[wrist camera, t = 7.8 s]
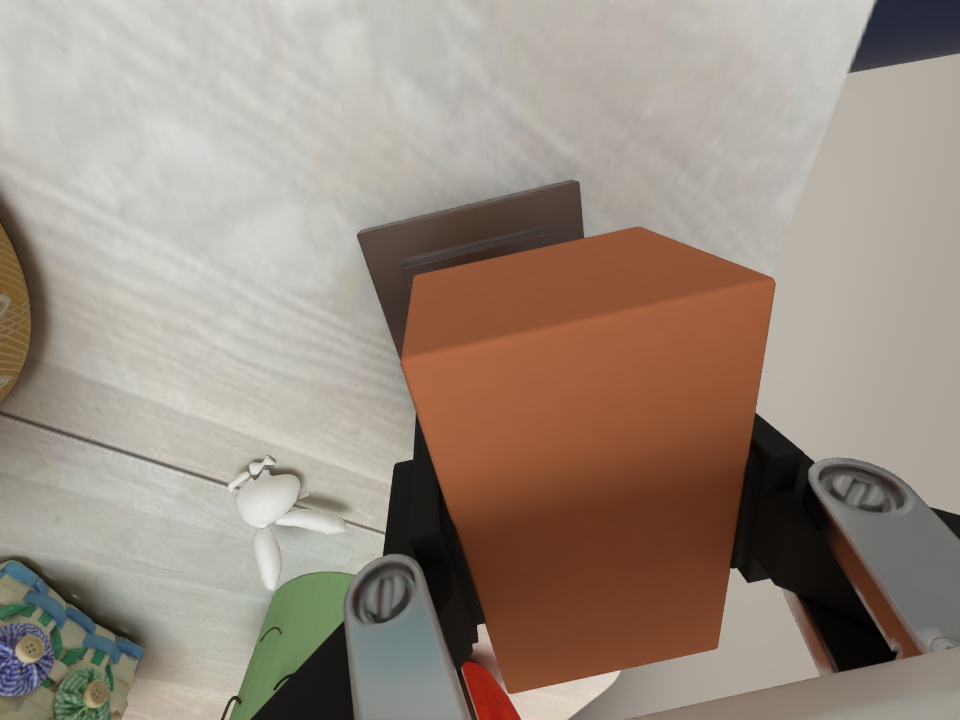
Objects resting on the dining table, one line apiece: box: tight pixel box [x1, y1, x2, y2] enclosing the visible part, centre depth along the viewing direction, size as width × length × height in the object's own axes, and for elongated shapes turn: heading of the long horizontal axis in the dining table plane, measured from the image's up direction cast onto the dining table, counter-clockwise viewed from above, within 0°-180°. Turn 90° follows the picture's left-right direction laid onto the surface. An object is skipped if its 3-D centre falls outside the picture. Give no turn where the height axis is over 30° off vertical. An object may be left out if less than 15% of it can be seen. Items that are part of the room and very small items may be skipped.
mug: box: [221, 572, 355, 720], centre depth 32 cm, size 13×10×12 cm
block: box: [401, 227, 776, 694], centre depth 9 cm, size 9×5×4 cm, turn 11°
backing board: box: [357, 180, 584, 361], centre depth 26 cm, size 26×12×5 cm, turn 12°
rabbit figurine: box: [228, 456, 347, 591], centre depth 29 cm, size 6×4×8 cm
